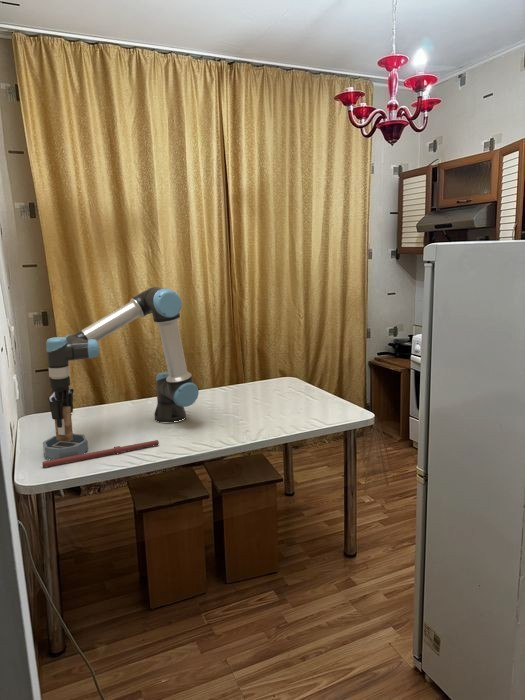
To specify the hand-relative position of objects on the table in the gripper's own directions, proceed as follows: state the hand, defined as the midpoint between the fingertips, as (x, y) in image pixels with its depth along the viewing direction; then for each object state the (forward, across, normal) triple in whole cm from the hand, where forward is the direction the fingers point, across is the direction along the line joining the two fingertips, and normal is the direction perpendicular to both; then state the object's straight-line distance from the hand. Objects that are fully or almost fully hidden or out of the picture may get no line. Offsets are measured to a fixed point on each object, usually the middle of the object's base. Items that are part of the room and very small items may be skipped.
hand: (64, 432), depth 206 cm
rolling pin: (+9, -1, +17) cm, 19 cm away
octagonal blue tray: (+9, 0, 0) cm, 9 cm away
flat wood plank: (+3, 0, 0) cm, 3 cm away
